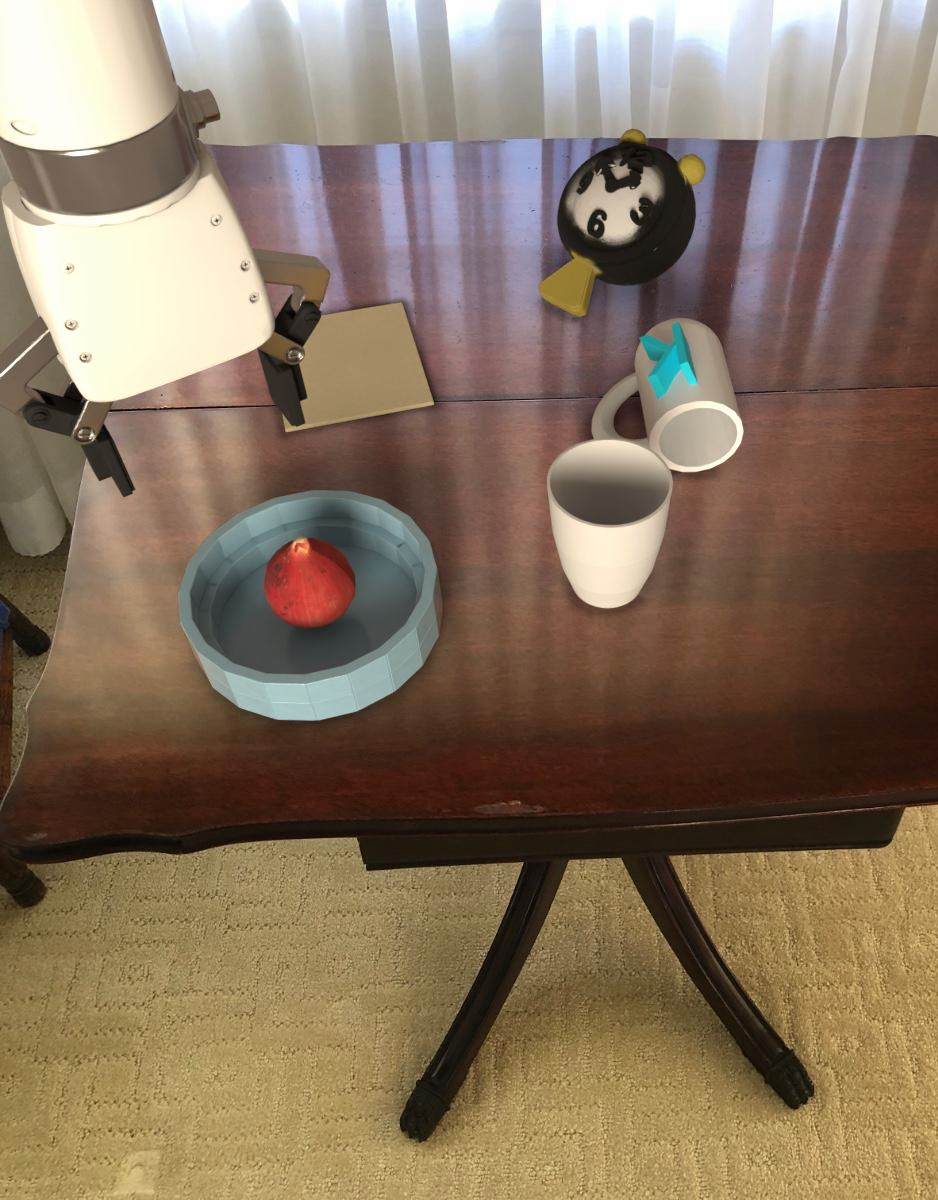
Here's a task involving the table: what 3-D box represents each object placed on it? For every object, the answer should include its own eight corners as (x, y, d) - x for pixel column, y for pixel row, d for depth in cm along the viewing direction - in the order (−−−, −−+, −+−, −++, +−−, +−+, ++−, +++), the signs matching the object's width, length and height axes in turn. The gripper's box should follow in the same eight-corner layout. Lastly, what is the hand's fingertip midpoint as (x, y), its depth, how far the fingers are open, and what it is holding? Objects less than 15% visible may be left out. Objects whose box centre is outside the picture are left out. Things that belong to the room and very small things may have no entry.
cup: (673, 550, 80) (683, 449, 73) (651, 635, 75) (659, 537, 68) (565, 530, 81) (564, 429, 74) (537, 613, 76) (532, 514, 69)
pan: (207, 751, 69) (187, 711, 66) (189, 560, 79) (171, 517, 76) (465, 689, 72) (459, 648, 69) (417, 513, 82) (409, 470, 79)
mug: (693, 269, 85) (719, 368, 78) (728, 353, 92) (754, 452, 85) (556, 325, 88) (567, 426, 81) (599, 403, 95) (614, 503, 87)
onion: (291, 664, 73) (265, 587, 67) (266, 604, 76) (238, 525, 70) (374, 633, 75) (356, 555, 68) (346, 575, 78) (326, 495, 72)
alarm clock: (537, 294, 106) (537, 125, 100) (687, 297, 107) (697, 129, 100) (538, 318, 95) (538, 130, 89) (704, 321, 96) (716, 135, 90)
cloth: (286, 432, 88) (284, 428, 87) (266, 328, 96) (265, 324, 96) (434, 405, 90) (433, 401, 90) (402, 305, 98) (402, 301, 98)
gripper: (255, 62, 52) (321, 353, 65) (-136, 168, 46) (26, 467, 59) (325, 129, 48) (380, 424, 61) (-91, 255, 42) (71, 554, 55)
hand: (207, 445), depth 60 cm, fingers open, 9 cm apart
